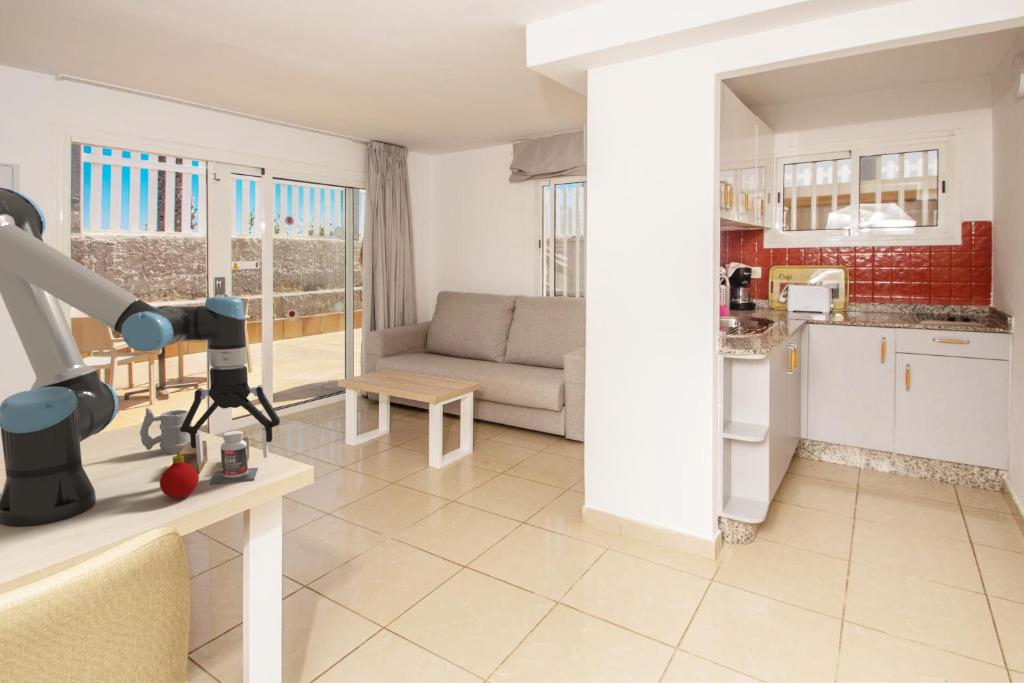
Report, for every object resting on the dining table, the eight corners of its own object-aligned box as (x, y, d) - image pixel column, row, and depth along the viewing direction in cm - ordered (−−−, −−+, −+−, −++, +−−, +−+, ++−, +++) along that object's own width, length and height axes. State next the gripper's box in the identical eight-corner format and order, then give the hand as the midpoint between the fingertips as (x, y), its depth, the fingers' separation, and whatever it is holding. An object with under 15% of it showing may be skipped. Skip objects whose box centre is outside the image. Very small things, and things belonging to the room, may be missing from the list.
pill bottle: (224, 480, 132) (221, 437, 130) (220, 473, 136) (218, 432, 135) (250, 476, 135) (248, 434, 133) (246, 469, 139) (244, 428, 138)
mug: (196, 451, 154) (193, 405, 152) (142, 459, 147) (138, 412, 145) (192, 443, 160) (189, 400, 158) (140, 451, 153) (136, 405, 151)
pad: (209, 484, 131) (209, 482, 130) (215, 472, 138) (215, 471, 138) (254, 480, 133) (254, 478, 133) (257, 469, 140) (257, 467, 140)
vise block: (179, 475, 136) (178, 454, 135) (189, 461, 145) (188, 441, 145) (244, 470, 140) (243, 449, 139) (249, 456, 149) (248, 437, 148)
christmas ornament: (202, 498, 123) (199, 452, 121) (162, 506, 119) (159, 458, 117) (197, 488, 128) (194, 443, 127) (159, 495, 124) (155, 449, 123)
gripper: (160, 371, 125) (167, 469, 128) (287, 366, 132) (291, 458, 135) (169, 366, 132) (176, 458, 135) (289, 361, 139) (292, 448, 142)
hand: (233, 458), depth 135 cm, fingers open, 13 cm apart
